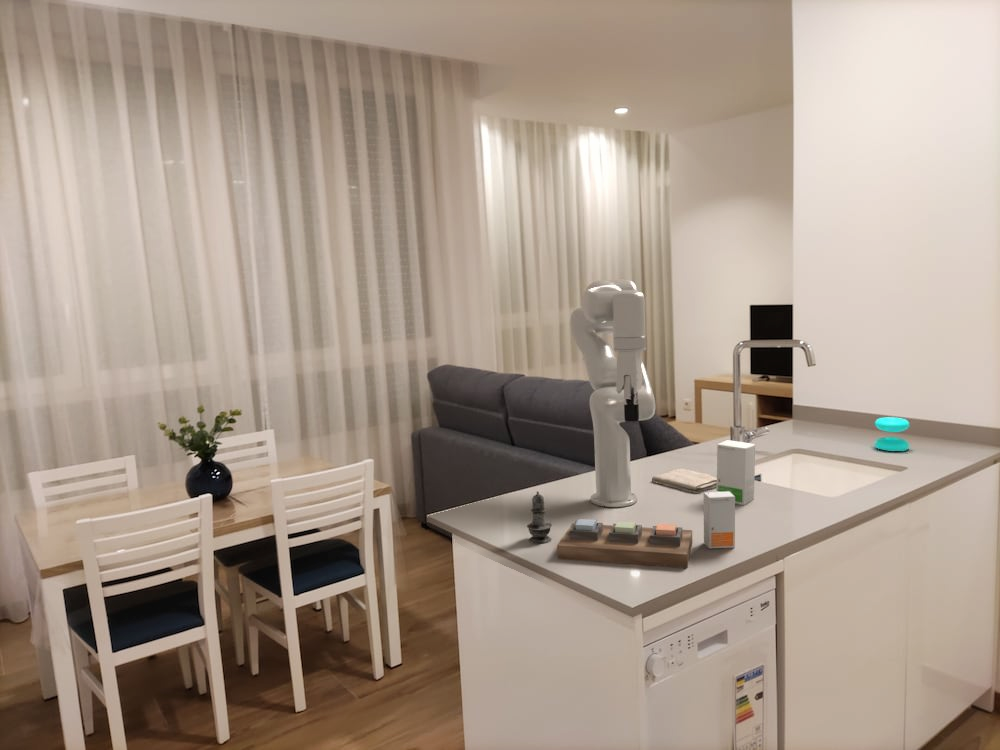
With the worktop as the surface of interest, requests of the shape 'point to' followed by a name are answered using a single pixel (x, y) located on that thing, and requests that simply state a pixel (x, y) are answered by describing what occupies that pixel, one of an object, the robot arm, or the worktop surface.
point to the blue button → (586, 525)
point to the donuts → (892, 426)
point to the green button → (625, 527)
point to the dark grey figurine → (539, 522)
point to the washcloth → (687, 480)
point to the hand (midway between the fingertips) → (631, 420)
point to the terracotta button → (666, 529)
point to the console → (626, 546)
